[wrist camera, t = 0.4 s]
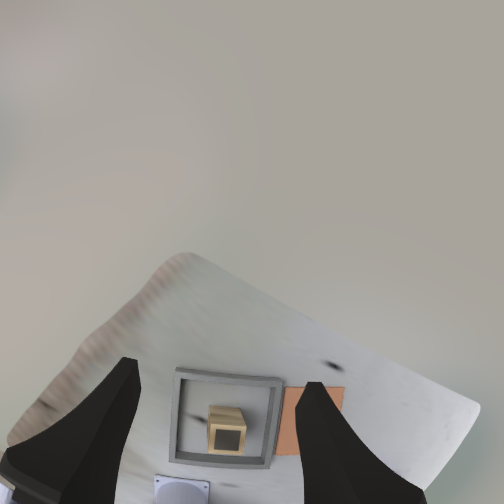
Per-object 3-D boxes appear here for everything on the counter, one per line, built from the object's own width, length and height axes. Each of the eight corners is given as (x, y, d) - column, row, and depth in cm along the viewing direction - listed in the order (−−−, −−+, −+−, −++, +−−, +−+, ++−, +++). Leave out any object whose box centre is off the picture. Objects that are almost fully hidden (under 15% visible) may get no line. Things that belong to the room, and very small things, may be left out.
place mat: (331, 450, 35) (332, 451, 35) (274, 454, 34) (275, 455, 34) (343, 386, 38) (344, 387, 37) (285, 387, 36) (286, 387, 36)
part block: (236, 433, 34) (243, 455, 27) (206, 430, 33) (208, 453, 27) (239, 407, 35) (246, 426, 28) (209, 405, 34) (211, 424, 27)
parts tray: (265, 461, 34) (269, 469, 31) (170, 454, 32) (168, 462, 29) (278, 377, 37) (283, 381, 34) (176, 367, 35) (174, 371, 32)
